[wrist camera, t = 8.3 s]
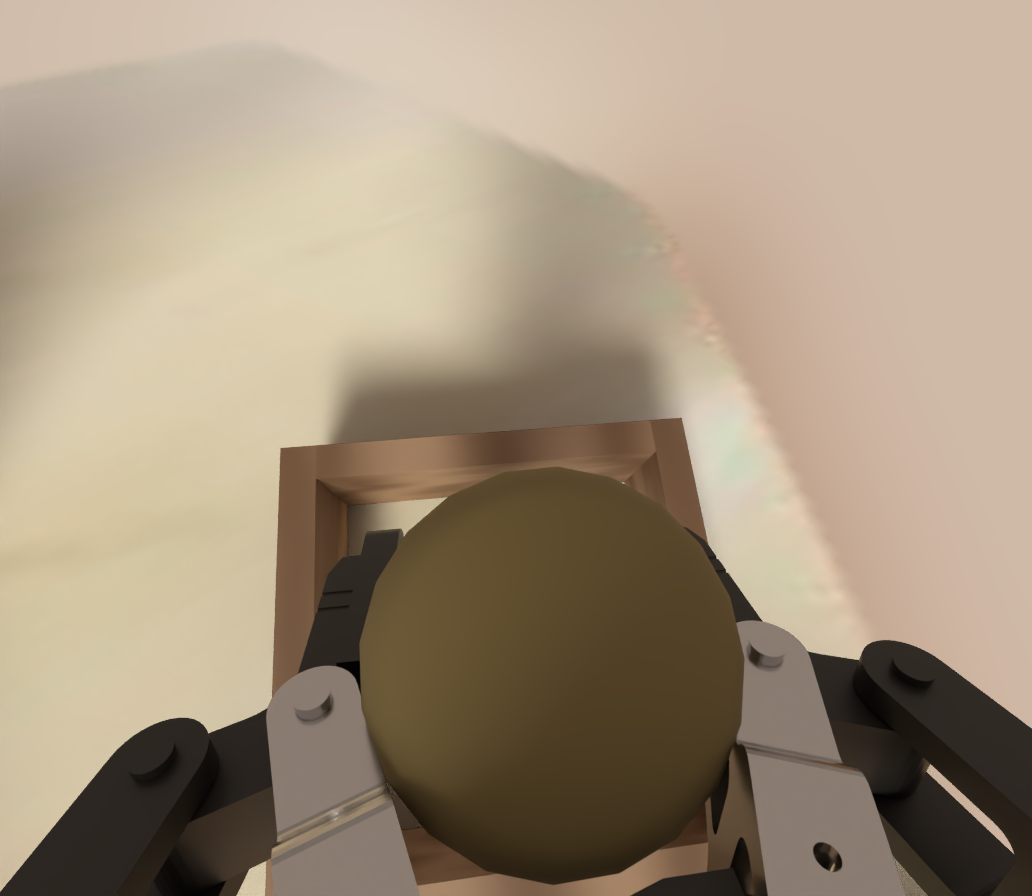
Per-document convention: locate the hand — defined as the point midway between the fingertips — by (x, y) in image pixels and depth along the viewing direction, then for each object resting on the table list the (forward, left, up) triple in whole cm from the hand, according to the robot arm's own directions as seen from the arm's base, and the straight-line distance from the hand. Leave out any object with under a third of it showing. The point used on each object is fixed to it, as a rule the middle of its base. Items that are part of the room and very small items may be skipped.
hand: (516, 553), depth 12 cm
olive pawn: (+1, -2, -5) cm, 6 cm away
